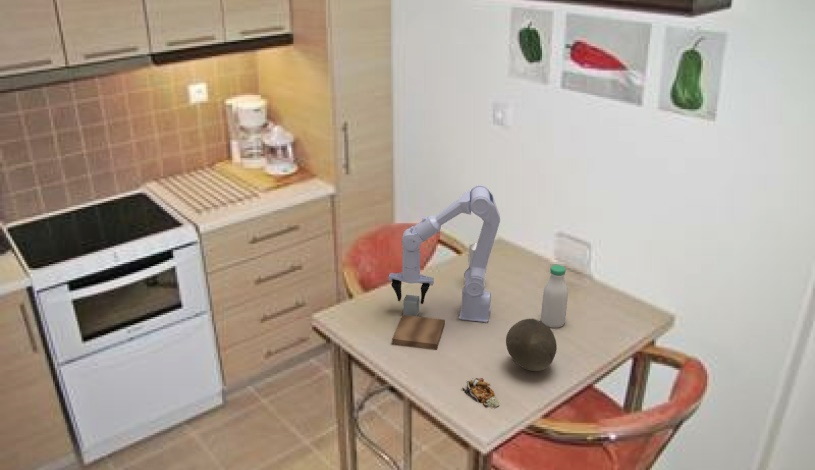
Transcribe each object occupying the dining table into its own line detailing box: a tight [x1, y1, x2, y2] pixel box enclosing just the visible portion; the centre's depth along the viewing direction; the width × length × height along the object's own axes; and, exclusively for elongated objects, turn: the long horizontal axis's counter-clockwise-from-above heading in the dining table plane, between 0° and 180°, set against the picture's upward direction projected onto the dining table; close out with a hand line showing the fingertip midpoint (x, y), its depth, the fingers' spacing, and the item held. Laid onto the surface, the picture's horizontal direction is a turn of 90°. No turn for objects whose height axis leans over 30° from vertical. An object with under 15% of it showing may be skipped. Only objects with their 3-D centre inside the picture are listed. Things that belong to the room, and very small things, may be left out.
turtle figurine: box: [460, 377, 501, 410], centre depth 193 cm, size 7×12×4 cm, turn 39°
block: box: [402, 294, 420, 317], centre depth 230 cm, size 4×4×6 cm
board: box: [391, 314, 446, 350], centre depth 220 cm, size 14×14×2 cm
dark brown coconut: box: [505, 318, 558, 372], centre depth 201 cm, size 14×14×15 cm
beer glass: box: [467, 242, 489, 288], centre depth 245 cm, size 7×7×15 cm
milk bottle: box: [540, 264, 569, 329], centre depth 222 cm, size 8×8×20 cm
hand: (411, 301), depth 230 cm, fingers open, 7 cm apart
